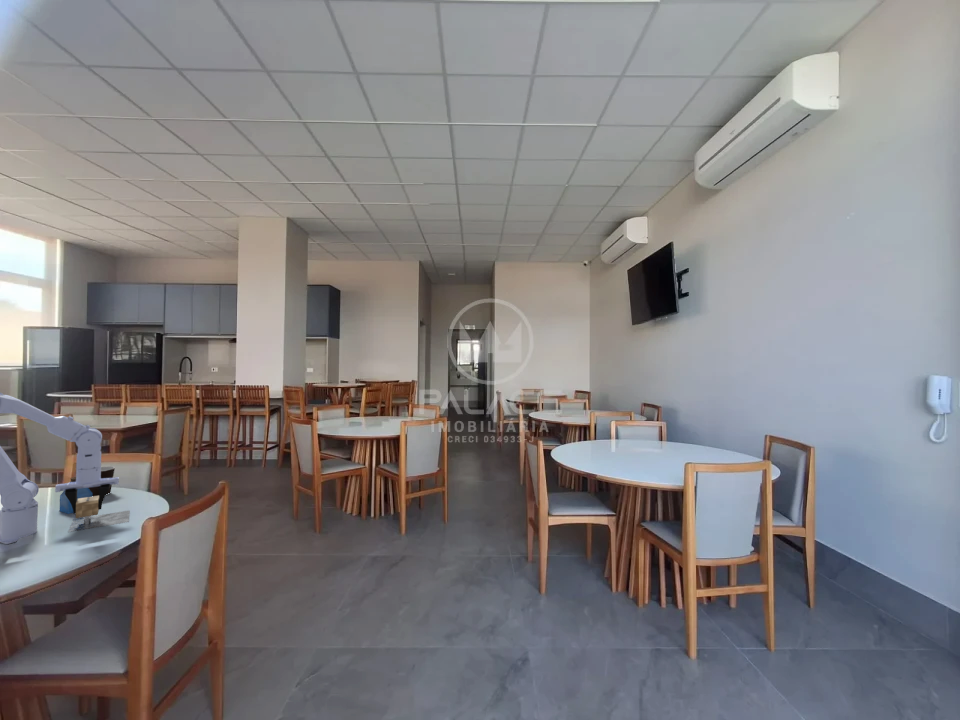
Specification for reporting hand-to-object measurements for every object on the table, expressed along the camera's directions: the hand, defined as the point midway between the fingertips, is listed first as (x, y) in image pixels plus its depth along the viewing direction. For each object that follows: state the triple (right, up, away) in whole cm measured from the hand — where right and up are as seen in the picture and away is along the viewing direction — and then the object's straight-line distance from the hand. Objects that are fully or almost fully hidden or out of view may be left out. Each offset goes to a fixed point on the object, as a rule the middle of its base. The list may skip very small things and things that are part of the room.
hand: (87, 510), depth 131 cm
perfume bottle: (-15, -5, +11) cm, 19 cm away
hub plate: (+2, -5, +2) cm, 6 cm away
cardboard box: (0, -1, 0) cm, 1 cm away
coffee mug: (-24, -5, +29) cm, 38 cm away
